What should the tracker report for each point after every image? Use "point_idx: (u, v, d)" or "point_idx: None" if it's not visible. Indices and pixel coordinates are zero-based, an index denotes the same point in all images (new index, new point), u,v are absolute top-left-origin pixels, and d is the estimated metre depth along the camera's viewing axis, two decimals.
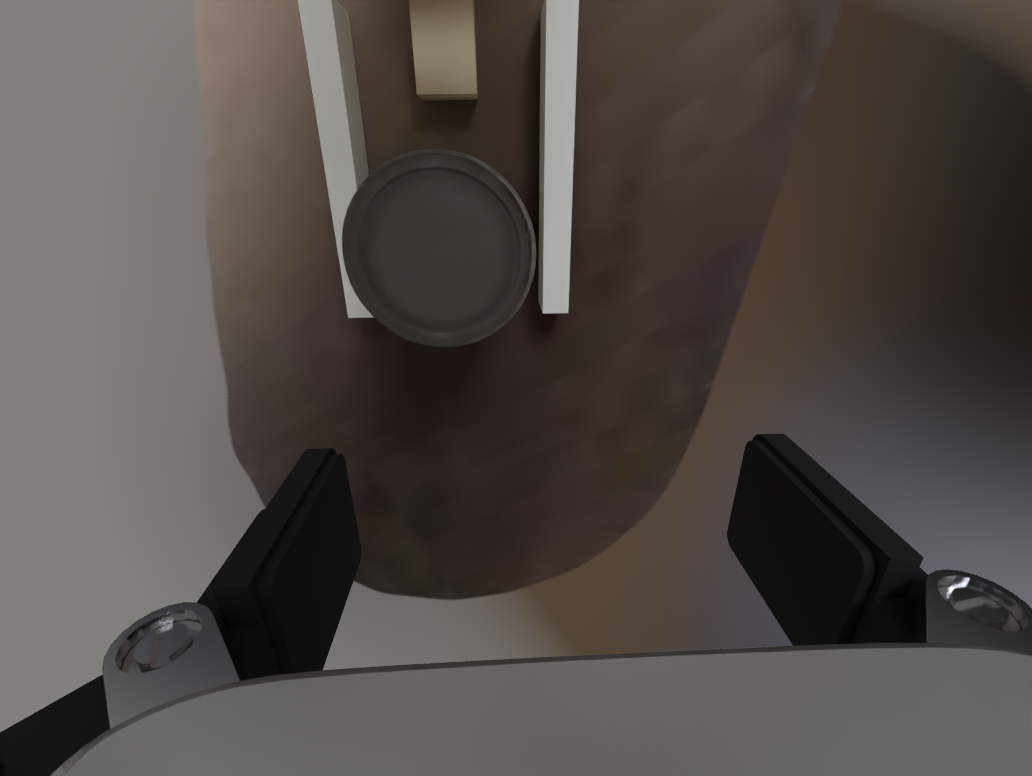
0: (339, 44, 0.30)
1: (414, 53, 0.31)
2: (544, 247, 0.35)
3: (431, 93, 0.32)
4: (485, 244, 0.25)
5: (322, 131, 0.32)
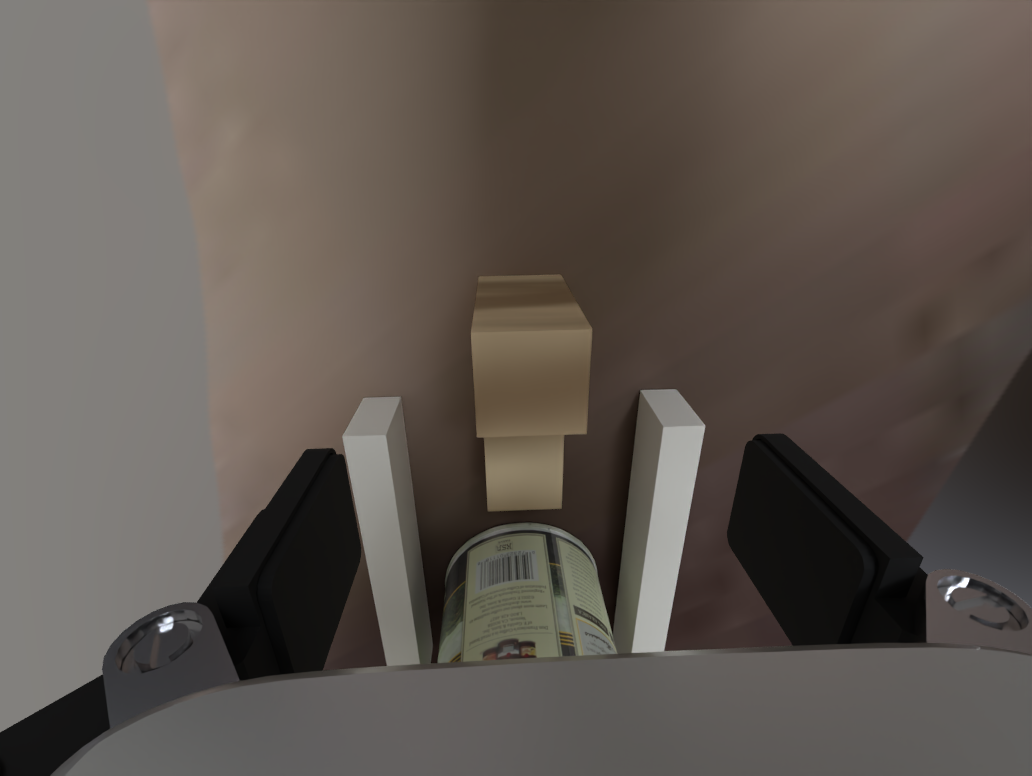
0: (394, 471, 0.24)
1: (487, 476, 0.25)
2: (634, 641, 0.29)
3: (505, 509, 0.26)
4: None
5: (370, 555, 0.25)
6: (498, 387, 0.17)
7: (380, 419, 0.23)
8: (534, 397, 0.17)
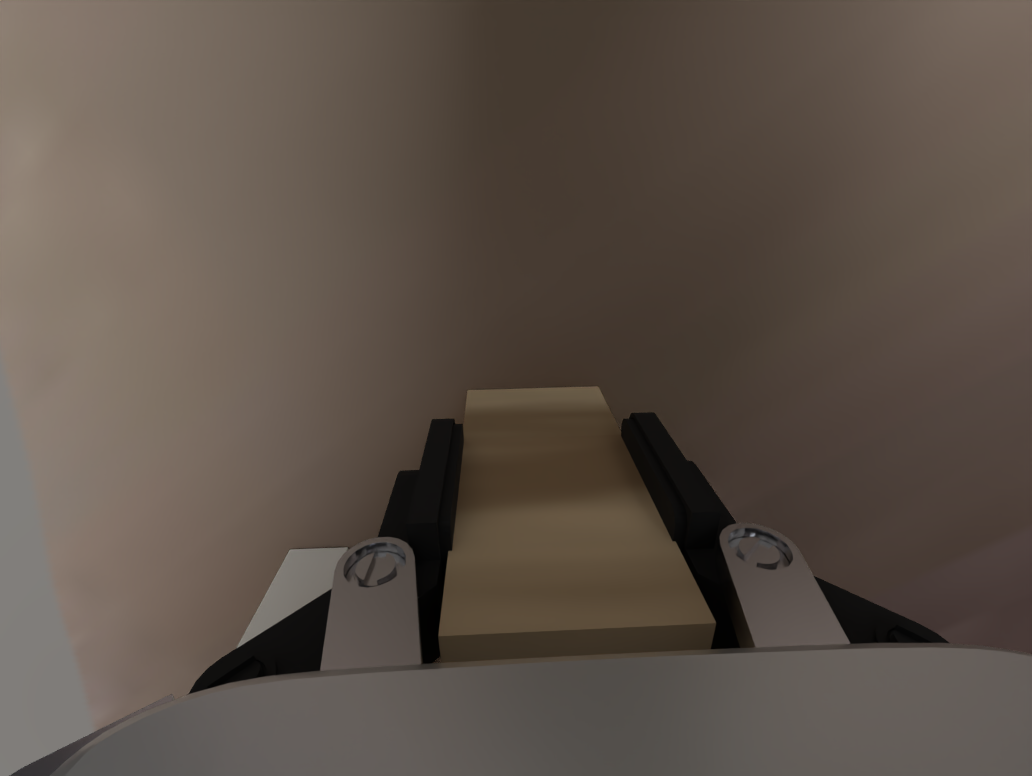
0: None
1: None
2: None
3: None
4: None
5: None
6: None
7: None
8: None
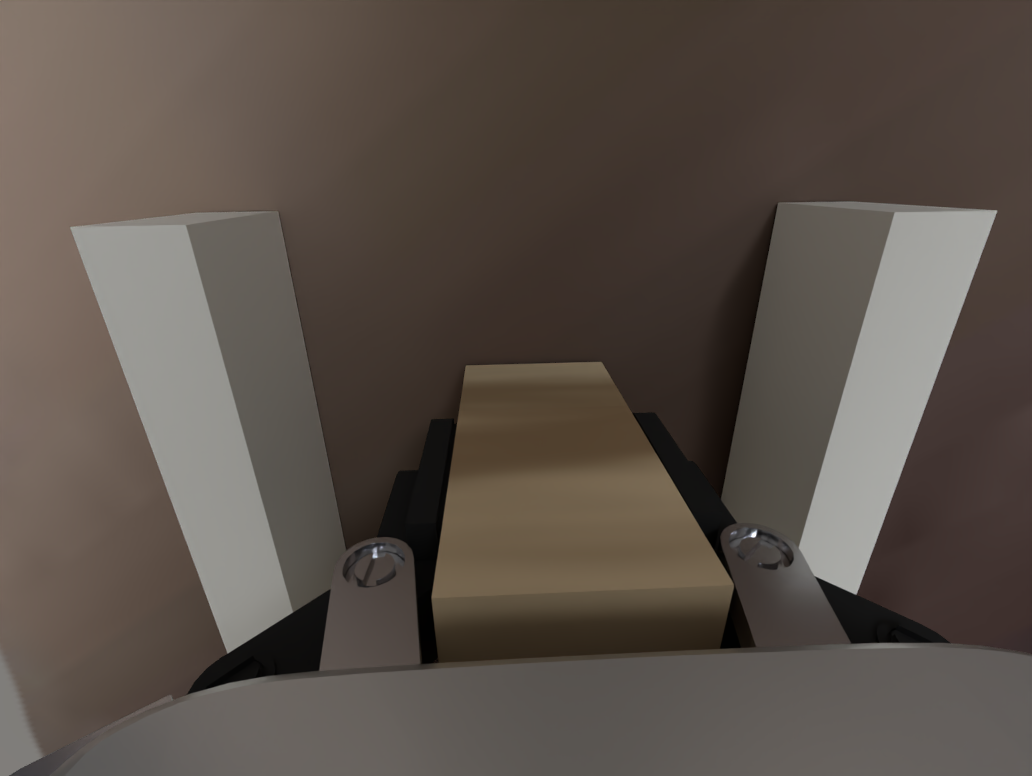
0: (235, 346, 0.10)
1: None
2: None
3: None
4: None
5: (200, 550, 0.11)
6: None
7: (200, 219, 0.10)
8: None
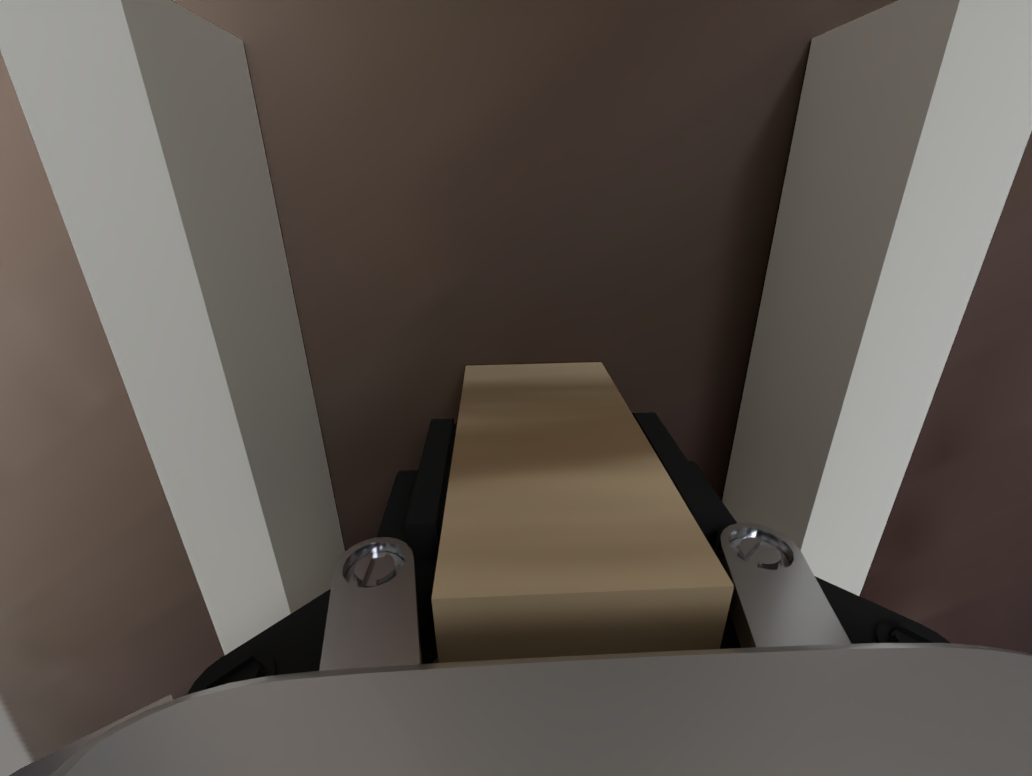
0: (182, 155, 0.08)
1: None
2: None
3: None
4: None
5: (149, 417, 0.10)
6: None
7: None
8: None
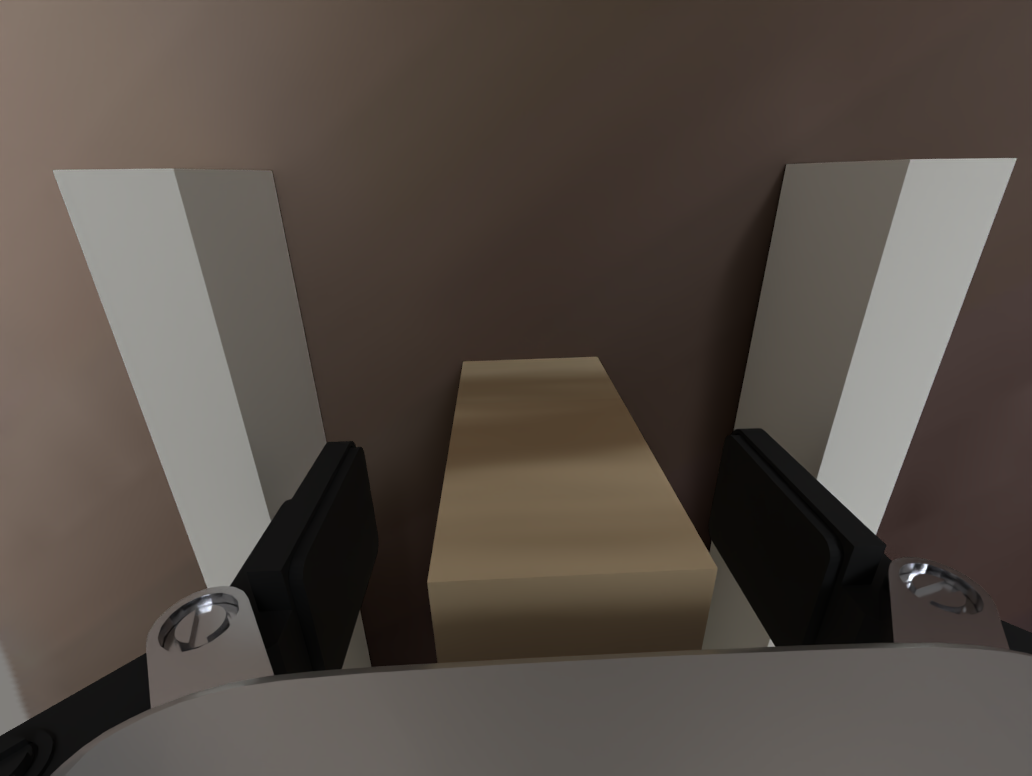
0: (226, 302, 0.10)
1: None
2: None
3: None
4: None
5: (192, 516, 0.11)
6: None
7: None
8: None
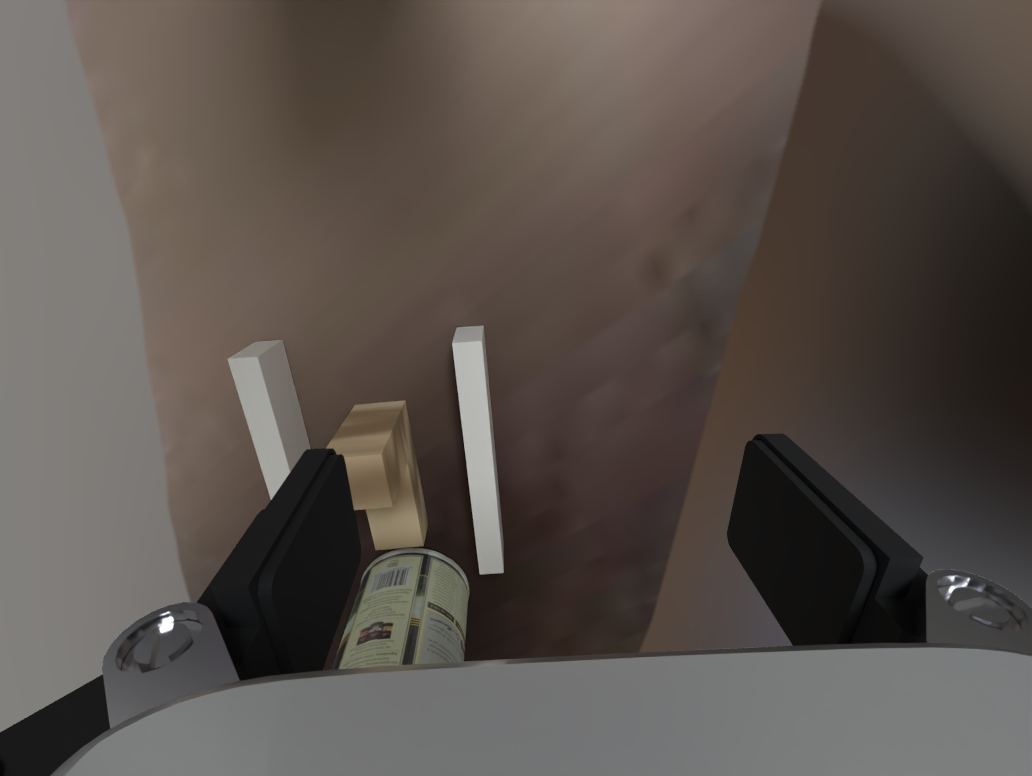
0: (270, 387, 0.33)
1: (371, 528, 0.39)
2: (474, 525, 0.38)
3: (387, 548, 0.40)
4: None
5: (260, 454, 0.35)
6: None
7: (259, 350, 0.33)
8: (358, 489, 0.31)
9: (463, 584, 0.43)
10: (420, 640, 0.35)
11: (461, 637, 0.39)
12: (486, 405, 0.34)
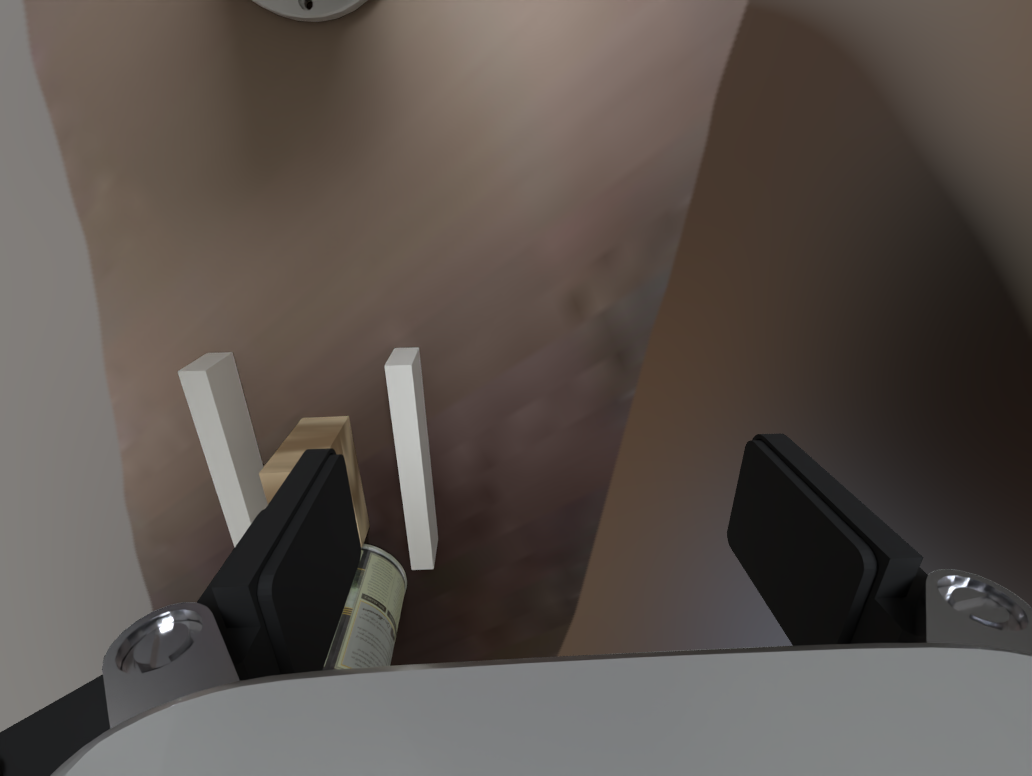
0: (218, 397, 0.36)
1: None
2: (406, 526, 0.42)
3: None
4: None
5: (208, 457, 0.38)
6: None
7: (208, 363, 0.36)
8: None
9: (400, 577, 0.48)
10: (350, 628, 0.39)
11: (392, 625, 0.43)
12: (416, 421, 0.37)
